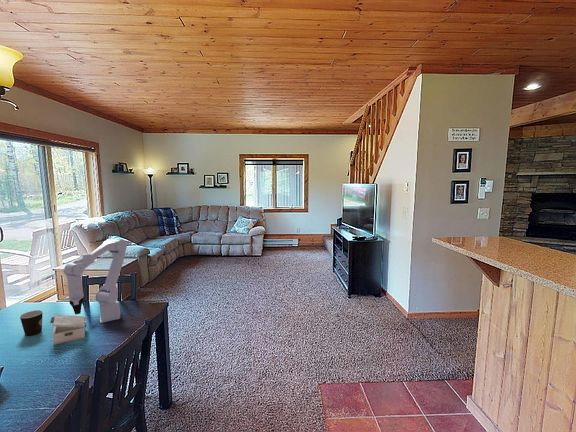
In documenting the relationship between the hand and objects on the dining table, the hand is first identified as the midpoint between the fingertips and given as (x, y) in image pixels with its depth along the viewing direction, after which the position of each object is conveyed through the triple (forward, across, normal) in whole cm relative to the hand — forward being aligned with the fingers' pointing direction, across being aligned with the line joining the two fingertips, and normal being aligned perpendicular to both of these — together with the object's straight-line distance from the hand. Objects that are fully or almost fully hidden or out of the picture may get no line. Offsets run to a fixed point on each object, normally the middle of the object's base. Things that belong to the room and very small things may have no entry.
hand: (77, 313), depth 149 cm
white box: (+10, 0, -4) cm, 11 cm away
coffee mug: (+11, -14, -18) cm, 25 cm away
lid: (+3, 0, -4) cm, 5 cm away
